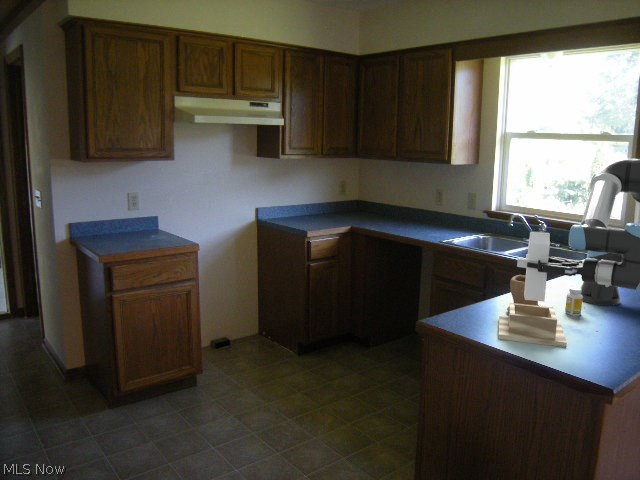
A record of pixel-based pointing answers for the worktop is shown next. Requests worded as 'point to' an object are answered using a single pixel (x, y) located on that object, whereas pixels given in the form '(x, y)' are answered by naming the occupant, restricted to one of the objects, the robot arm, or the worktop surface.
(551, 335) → the wooden stepped stand
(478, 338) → the worktop surface
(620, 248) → the robot arm
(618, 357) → the worktop surface
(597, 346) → the worktop surface
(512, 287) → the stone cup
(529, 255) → the milk
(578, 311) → the supplement bottle
